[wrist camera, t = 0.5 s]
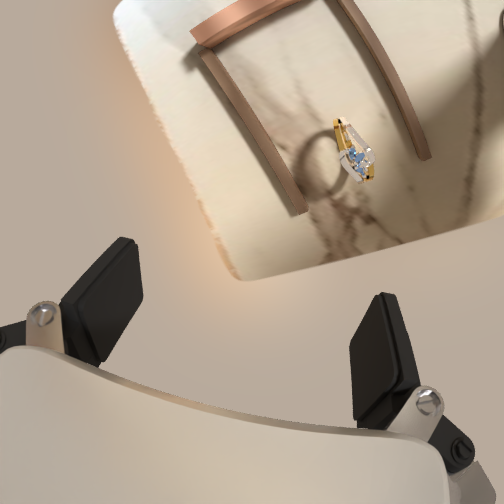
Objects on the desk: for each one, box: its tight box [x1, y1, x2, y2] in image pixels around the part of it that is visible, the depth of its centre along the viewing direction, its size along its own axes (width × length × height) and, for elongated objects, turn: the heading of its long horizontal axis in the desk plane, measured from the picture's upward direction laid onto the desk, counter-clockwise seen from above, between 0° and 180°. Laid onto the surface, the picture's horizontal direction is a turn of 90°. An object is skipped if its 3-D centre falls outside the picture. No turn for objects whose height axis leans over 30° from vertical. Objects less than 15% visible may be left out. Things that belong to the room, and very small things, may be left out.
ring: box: [333, 117, 375, 184], centre depth 26 cm, size 7×3×8 cm, turn 23°
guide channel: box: [190, 0, 432, 215], centre depth 25 cm, size 17×24×4 cm
